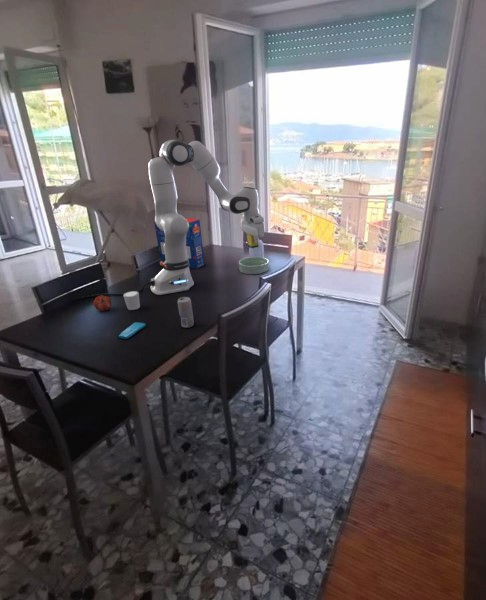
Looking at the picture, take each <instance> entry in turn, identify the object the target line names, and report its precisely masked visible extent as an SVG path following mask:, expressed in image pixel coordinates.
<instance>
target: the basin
mask: <svg viewBox="0 0 486 600" xmlns="http://www.w3.org/2000/svg"><path fill="white" fill-rule="evenodd" d="M269 270H270V260H269V259H268V258H266V257H264V258H263V257H250V256H247V257H244V258H241V259H239V261H238V271H239V272H240V273H242V274H245V275H259V274H261V275H262V274H264V273H266V272H267V271H269Z"/></svg>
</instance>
